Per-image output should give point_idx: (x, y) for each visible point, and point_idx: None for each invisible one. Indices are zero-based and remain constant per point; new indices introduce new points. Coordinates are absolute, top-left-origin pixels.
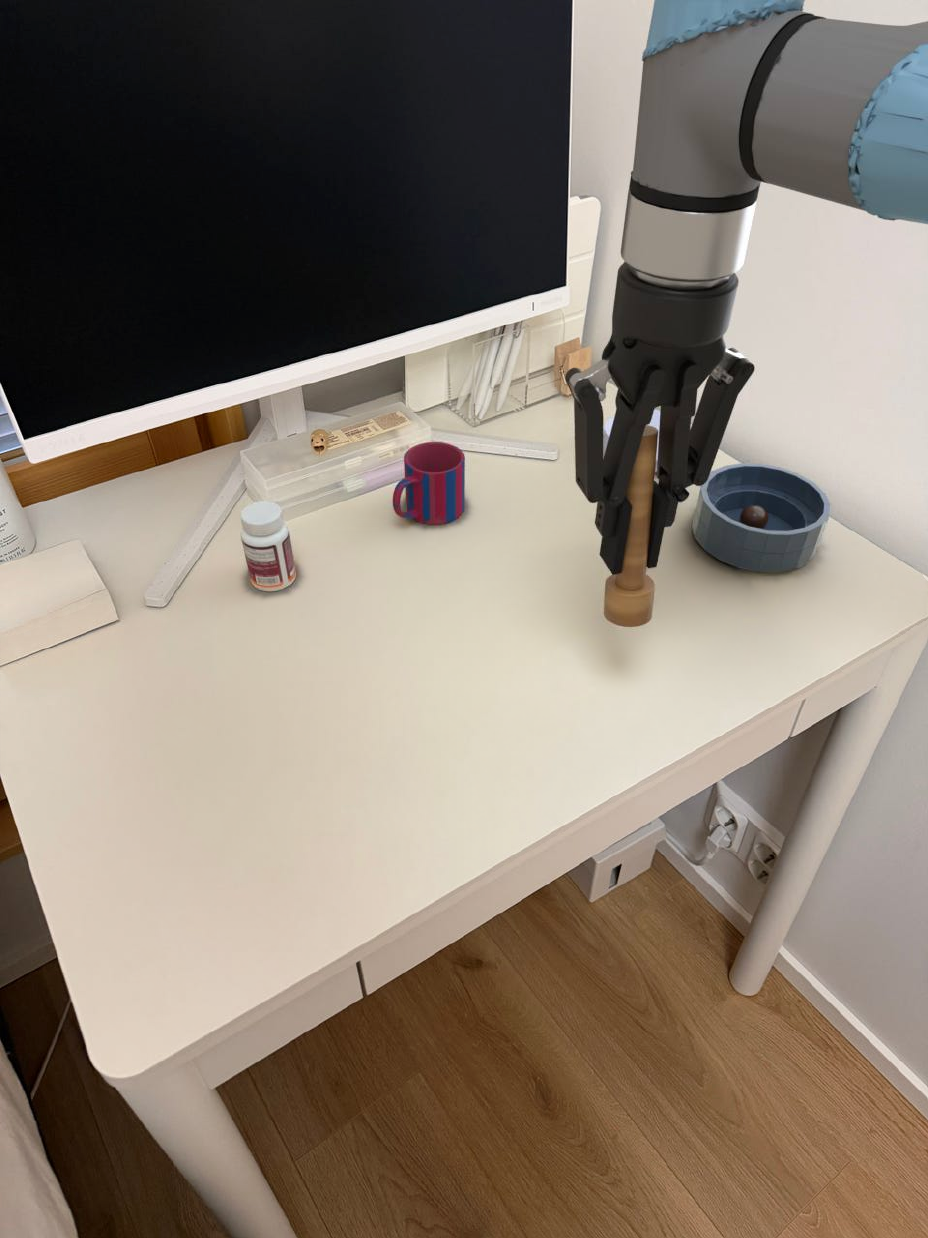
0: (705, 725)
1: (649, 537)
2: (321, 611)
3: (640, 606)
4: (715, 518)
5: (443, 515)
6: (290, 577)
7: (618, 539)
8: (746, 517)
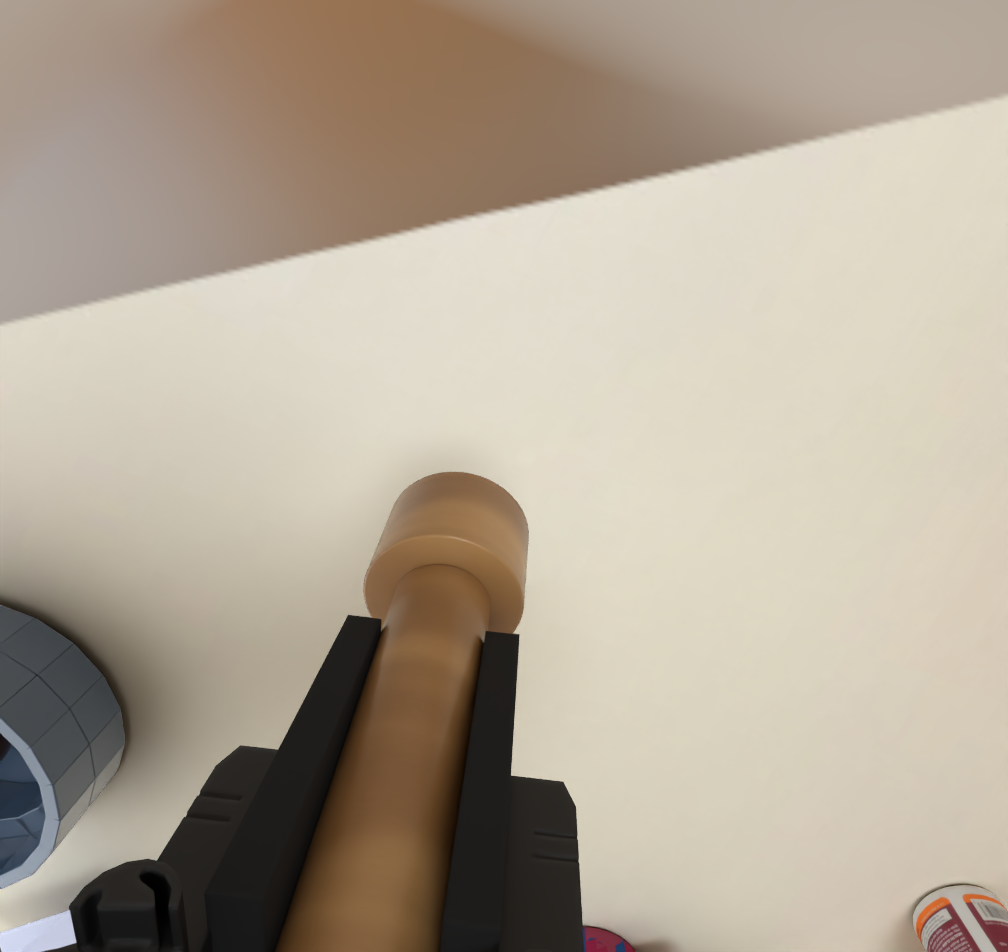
0: (343, 278)
1: (347, 726)
2: (918, 815)
3: (450, 509)
4: (56, 766)
5: (591, 948)
6: (944, 906)
7: (510, 753)
8: None
